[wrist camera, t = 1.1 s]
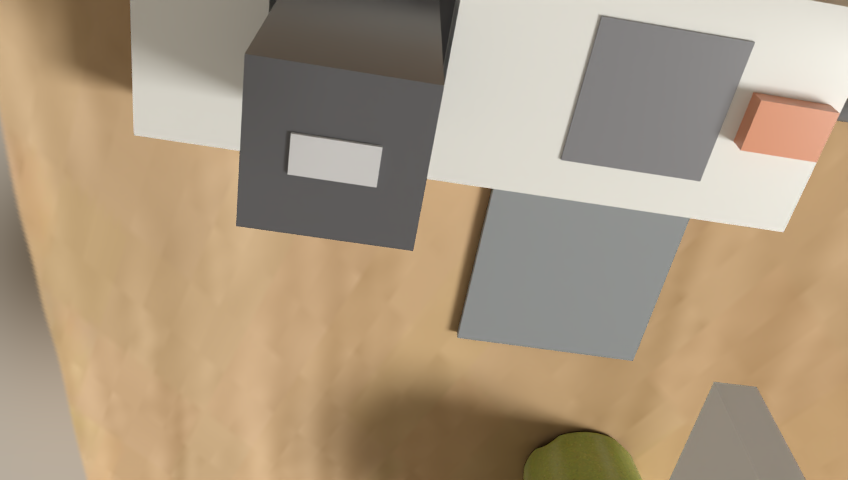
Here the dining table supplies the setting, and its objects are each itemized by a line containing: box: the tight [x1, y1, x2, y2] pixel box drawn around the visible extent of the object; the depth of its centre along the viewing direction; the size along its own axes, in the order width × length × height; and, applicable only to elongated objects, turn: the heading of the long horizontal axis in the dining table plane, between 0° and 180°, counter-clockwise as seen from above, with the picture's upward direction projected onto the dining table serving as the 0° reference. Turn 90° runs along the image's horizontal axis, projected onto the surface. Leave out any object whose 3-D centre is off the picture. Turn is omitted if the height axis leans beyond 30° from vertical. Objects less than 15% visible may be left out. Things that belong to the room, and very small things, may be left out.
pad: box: [457, 189, 690, 361], centre depth 37 cm, size 9×9×1 cm
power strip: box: [130, 0, 848, 232], centre depth 30 cm, size 9×32×4 cm, turn 80°
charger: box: [236, 0, 444, 251], centre depth 25 cm, size 5×5×10 cm
